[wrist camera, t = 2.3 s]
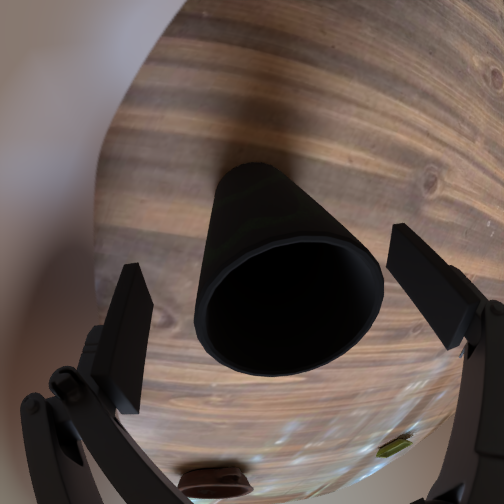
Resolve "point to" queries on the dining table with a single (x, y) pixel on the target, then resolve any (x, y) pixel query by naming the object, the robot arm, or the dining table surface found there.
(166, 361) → the dining table surface
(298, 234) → the cup
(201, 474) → the dish
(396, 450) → the green square tray
